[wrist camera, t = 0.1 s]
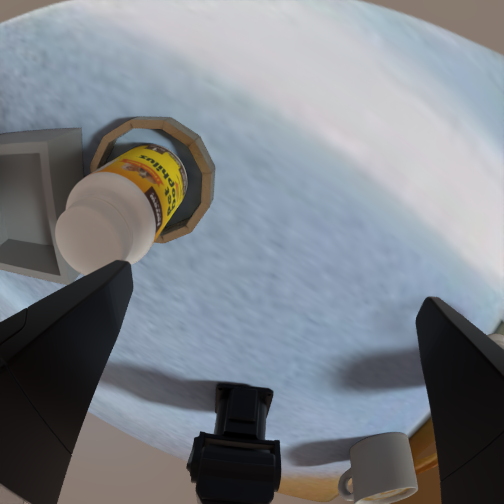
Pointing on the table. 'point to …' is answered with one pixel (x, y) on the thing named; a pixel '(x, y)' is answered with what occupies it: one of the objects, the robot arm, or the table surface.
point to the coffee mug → (380, 470)
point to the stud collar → (196, 149)
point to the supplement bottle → (120, 208)
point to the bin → (37, 199)
